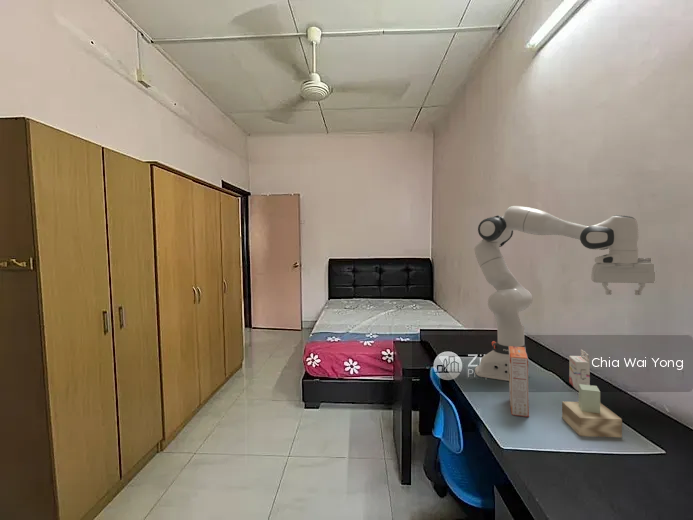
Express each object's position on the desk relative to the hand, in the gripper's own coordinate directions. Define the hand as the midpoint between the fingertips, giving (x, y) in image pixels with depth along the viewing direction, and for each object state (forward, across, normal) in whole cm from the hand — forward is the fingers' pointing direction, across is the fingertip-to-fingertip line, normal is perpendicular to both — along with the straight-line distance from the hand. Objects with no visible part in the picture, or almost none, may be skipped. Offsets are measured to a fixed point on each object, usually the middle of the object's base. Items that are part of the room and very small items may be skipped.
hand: (623, 294), depth 141 cm
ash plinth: (+40, +18, +30) cm, 53 cm away
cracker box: (+39, +38, +22) cm, 59 cm away
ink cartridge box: (+39, +13, -6) cm, 42 cm away
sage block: (+34, +18, +30) cm, 48 cm away
